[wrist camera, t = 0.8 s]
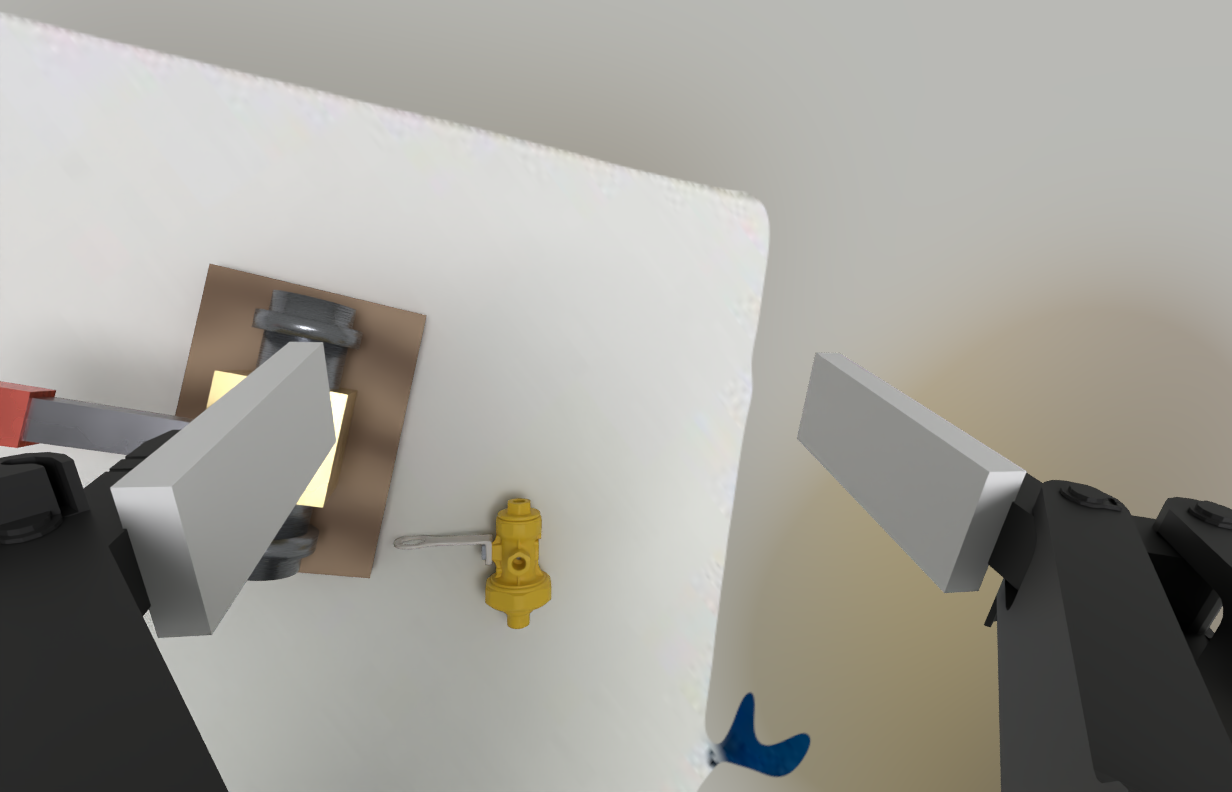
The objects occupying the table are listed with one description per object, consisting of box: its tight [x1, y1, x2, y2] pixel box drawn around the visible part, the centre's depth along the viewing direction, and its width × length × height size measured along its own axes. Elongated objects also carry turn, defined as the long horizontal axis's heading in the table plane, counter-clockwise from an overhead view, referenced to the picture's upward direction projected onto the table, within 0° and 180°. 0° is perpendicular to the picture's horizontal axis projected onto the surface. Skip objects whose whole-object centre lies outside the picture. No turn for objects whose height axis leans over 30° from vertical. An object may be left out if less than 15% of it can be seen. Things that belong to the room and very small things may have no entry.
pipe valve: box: [206, 290, 363, 581], centre depth 36 cm, size 18×7×10 cm, turn 168°
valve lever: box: [0, 381, 194, 455], centre depth 28 cm, size 15×3×2 cm, turn 78°
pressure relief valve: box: [394, 498, 551, 629], centre depth 45 cm, size 6×12×10 cm
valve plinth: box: [175, 264, 426, 578], centre depth 41 cm, size 20×14×2 cm
